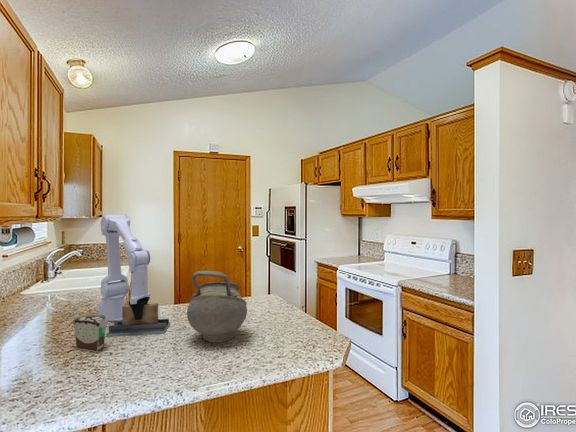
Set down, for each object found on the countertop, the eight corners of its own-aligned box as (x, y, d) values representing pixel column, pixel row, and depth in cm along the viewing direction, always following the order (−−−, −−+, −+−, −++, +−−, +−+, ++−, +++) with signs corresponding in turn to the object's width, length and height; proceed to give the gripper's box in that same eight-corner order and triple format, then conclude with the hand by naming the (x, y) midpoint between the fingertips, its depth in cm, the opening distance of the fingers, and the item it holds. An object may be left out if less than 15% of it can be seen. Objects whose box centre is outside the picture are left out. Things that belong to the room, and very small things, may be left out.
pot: (218, 355, 101) (217, 274, 101) (174, 342, 112) (173, 269, 112) (258, 334, 118) (258, 265, 118) (217, 324, 129) (216, 261, 129)
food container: (117, 345, 110) (116, 315, 110) (101, 352, 104) (100, 321, 104) (89, 341, 114) (89, 312, 114) (72, 348, 108) (72, 317, 108)
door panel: (122, 328, 122) (122, 306, 122) (125, 325, 125) (125, 304, 125) (156, 326, 123) (156, 305, 123) (158, 323, 126) (158, 303, 126)
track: (106, 336, 118) (106, 328, 118) (117, 327, 128) (117, 319, 128) (164, 333, 120) (164, 325, 120) (170, 324, 130) (170, 316, 130)
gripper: (144, 286, 117) (145, 323, 117) (155, 278, 132) (155, 312, 132) (123, 286, 116) (124, 324, 116) (137, 279, 131) (137, 312, 131)
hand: (139, 318), depth 124 cm, fingers closed on door panel, 3 cm apart
